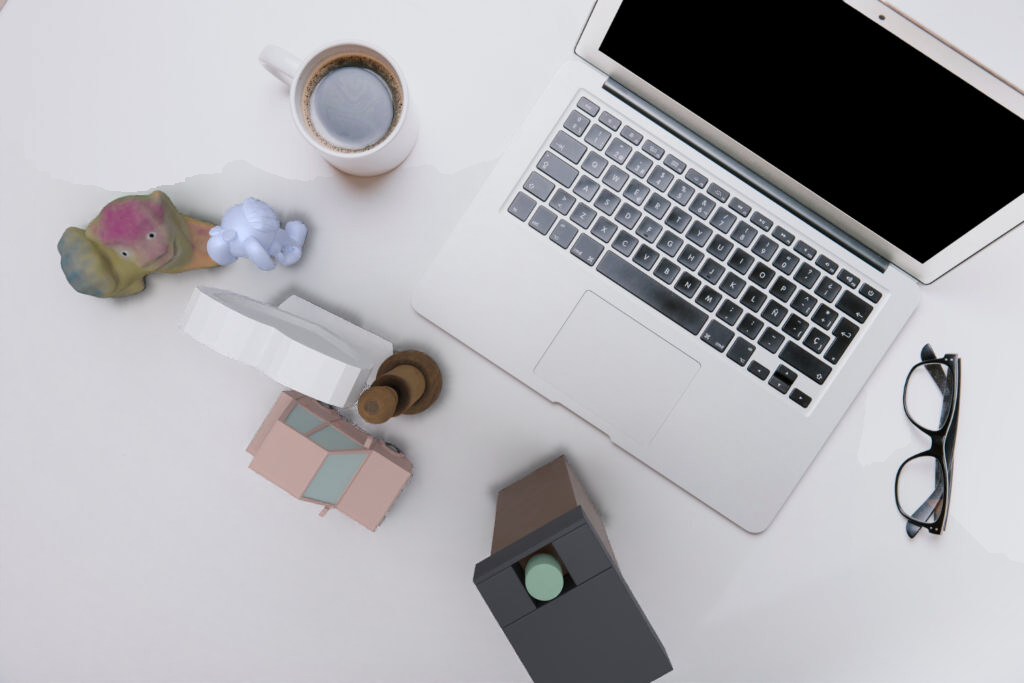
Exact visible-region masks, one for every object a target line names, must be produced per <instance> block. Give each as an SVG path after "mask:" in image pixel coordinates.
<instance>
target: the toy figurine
mask: <svg viewBox="0 0 1024 683" xmlns="http://www.w3.org/2000/svg"><path fill="white" fill-rule="evenodd" d="M221 217H222V219H221V223H220V225H216V226H215V227H213V228H212V229H211V230H210V231H209V235H210V236H212V237H211V238H210V239H209V240H208V242H207V251H208V254H209V256H210V257H211V258H212V259H213V260H214V261H215V262H216V263H218V264H220V265H221V266H229V265H232V264H234V263H235V262H237V261H238V259H239V258H243V259H249V260H250V261H251V263H252V264H253V265H254V267H256V269H258V270H259V271H262V272H270V271H272V270H274V269H275V268H276V266H277V264H276V263H275V262H274V259H272V257H271V256H273V257H274V258H275V260H277V261H278V262H279V263H280V264H281V265H283V266H287V267H288V266H292V265H294V264H296V263H297V262H298V261H299V260H300V259H301V258H302V254H303V250H302V248H303V246H304V243H305V242H306V236H307V233H308V227H307V225H306V224H305V223H303V221H302V220H300V219H295V220H289V221H287V222H286V224H285V227H284V229H283V228H281V221H280V220H279V219H278V214H277V212H276V211H275V209H274V207H273V206H271V205H269V204H268V203H267V202H265V201H263V200H261V199H259V198H255V197H252V196H248V197H247V198H246V199H245V200H244V201H243V202H242V203H238V204H235V205H232V206H231V207H229V208H227V210H226V211H225V212H224V214H223V215H221ZM220 265H219V266H220Z"/></svg>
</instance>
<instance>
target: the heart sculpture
mask: <svg viewBox="0 0 1024 683" xmlns="http://www.w3.org/2000/svg"><path fill="white" fill-rule="evenodd" d="M177 327H178V328H179V329H180V330H181V332H183V333H184V334H185V335H188V336H189V337H190V338H192V339H193V340H195V341H197V342H198V343H200V344H202V345H203V346H205V347H207V348H209V349H211V350H212V351H214V352H216V353H218V354H220V355H222V356H224V357H226V358H228V359H231V360H234V361H236V362H239V363H241V364H245V365H247V366H250V367H254V368H256V369H257V370H258V371H260V372H261V373H262V374H263V375H265V377H268V378H270V379H271V380H272V381H274V382H276V383H278V384H281V385H283V386H285V387H286V388H288V389H290V390H295V391H298V392H300V393H302V394H305V395H307V396H309V397H310V398H314V399H317V400H320V401H322V402H325V403H327V404H330V405H331V406H335V407H338V408H342V409H345V408H353V407H354V406H355V405H356V404H357V403H358V399H359V397H360V395H361V394H362V393H363V390H364V388H365V386H366V385H368V386H369V387H370V386H371V384H372V383H373V382H374V381H375V380H376V375H377V371H378V369H379V367H380V366H381V364H382V363H383V362H384V361H385V360H386V359H387V358H388V357H390V356H392V355H393V354H394V346H393V345H394V344H393V342H391V341H389V340H387V339H385V338H383V337H380V336H379V335H377V334H374V333H372V332H370V331H369V330H366V329H364V328H363V327H360V326H358V325H356V324H354V323H352V322H350V321H349V320H346V319H344V318H342V317H341V316H339V315H336V314H334V313H332V312H330V311H328V310H326V309H324V308H323V307H320V306H317V305H316V304H314V303H311V302H309V301H308V300H306V299H304V298H302V297H299V296H298V295H296V294H292V295H290V296H289V297H287V298H286V299H285V300H284V301H282V302H281V303H280V304H279V305H278V306H274V305H271V304H268V303H266V302H262V301H261V300H257V299H254V298H252V297H249V296H245V295H243V294H239V293H236V292H233V291H229V290H226V289H222V288H215V287H211V286H195V287H194V290H193V292H192V294H191V297H190V299H189V300H188V303H187V305H186V307H185V309H184V312H183V314H182V316H181V318H180V321H179V322H178V325H177Z"/></svg>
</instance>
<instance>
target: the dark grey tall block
mask: <svg viewBox="0 0 1024 683" xmlns="http://www.w3.org/2000/svg"><path fill="white" fill-rule="evenodd" d="M578 478H579V477H578V476H577V475H576V473H575V472H574V470H573V468H572V467H571V465H570V463H569V461H568V460H567V458H566V456H565V455H564V454H562V455H561V456H559V457H557V458H555V459H553V460H552V461H549V462H548V463H547V464H545V465H543V466H541V467H539V468H538V469H536V470H535V471H532V472H530V473H528V474H527V475H525V476H524V477H522V478H521V479H519V480H517V481H515V482H513V483H512V484H510V485H508V486H506V487H505V488H502V489H501V490H499V491H498V492H497V499H496V508H495V515H494V524H493V531H492V540H491V548H490V554H489V555H488V556H487V557H486V558H483V559H482V560H481V561H479V562H477V563H476V564H475V565H474V571H473V576H472V583H473V584H474V585H475V587H476V589H477V592H479V594H480V596H481V597H482V599H483V601H484V603H485V604H486V606H487V607H488V609H489V610H490V611H489V612H491V614H492V615H493V617H494V619H495V621H496V622H497V624H498V626H499V627H500V629H501V631H502V632H503V634H504V635H505V637H506V638H507V640H508V642H509V644H510V646H511V647H512V649H513V651H514V652H515V654H516V655H517V656H518V660H520V663H521V664H522V665H523V667H524V669H525V670H526V672H527V674H528V675H529V677H530V679H531V681H532V682H533V683H652V682H654V681H656V680H658V679H660V678H662V677H664V676H665V675H667V674H669V673H670V672H672V671H674V667H673V664H672V662H671V660H670V657H669V655H668V653H667V650H666V647H665V646H664V644H663V642H662V641H661V639H660V638H659V635H658V634H657V632H656V631H655V629H654V627H653V625H652V623H651V621H649V619H648V616H646V614H645V612H644V610H643V608H642V607H641V605H640V604H639V602H638V599H636V597H635V595H634V593H633V592H632V590H631V588H630V587H629V585H628V583H627V581H626V580H625V578H624V576H623V574H622V571H621V568H620V566H619V564H618V560H617V558H616V555H615V553H614V550H613V547H612V545H611V541H610V538H609V536H608V534H607V530H606V528H605V524H604V522H603V520H602V517H601V515H600V514H599V512H598V511H597V509H596V507H595V506H594V504H593V502H592V501H591V499H590V497H589V496H588V494H587V492H586V490H585V489H584V487H583V485H582V483H581V481H580V480H579V479H578ZM541 553H546V554H550V555H552V556H554V557H555V558H556V559H557V560H558V561H559V563H560V565H561V568H562V574H563V588H562V590H561V592H560V593H559V594H558V595H557V596H556V597H555V598H553V599H551V600H546V601H543V600H538V599H536V598H534V597H533V596H531V595H530V594H529V592H528V590H527V588H526V584H525V568H526V565H527V563H528V561H529V560H530V559H531V558H532V557H533V556H535V555H537V554H541Z"/></svg>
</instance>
